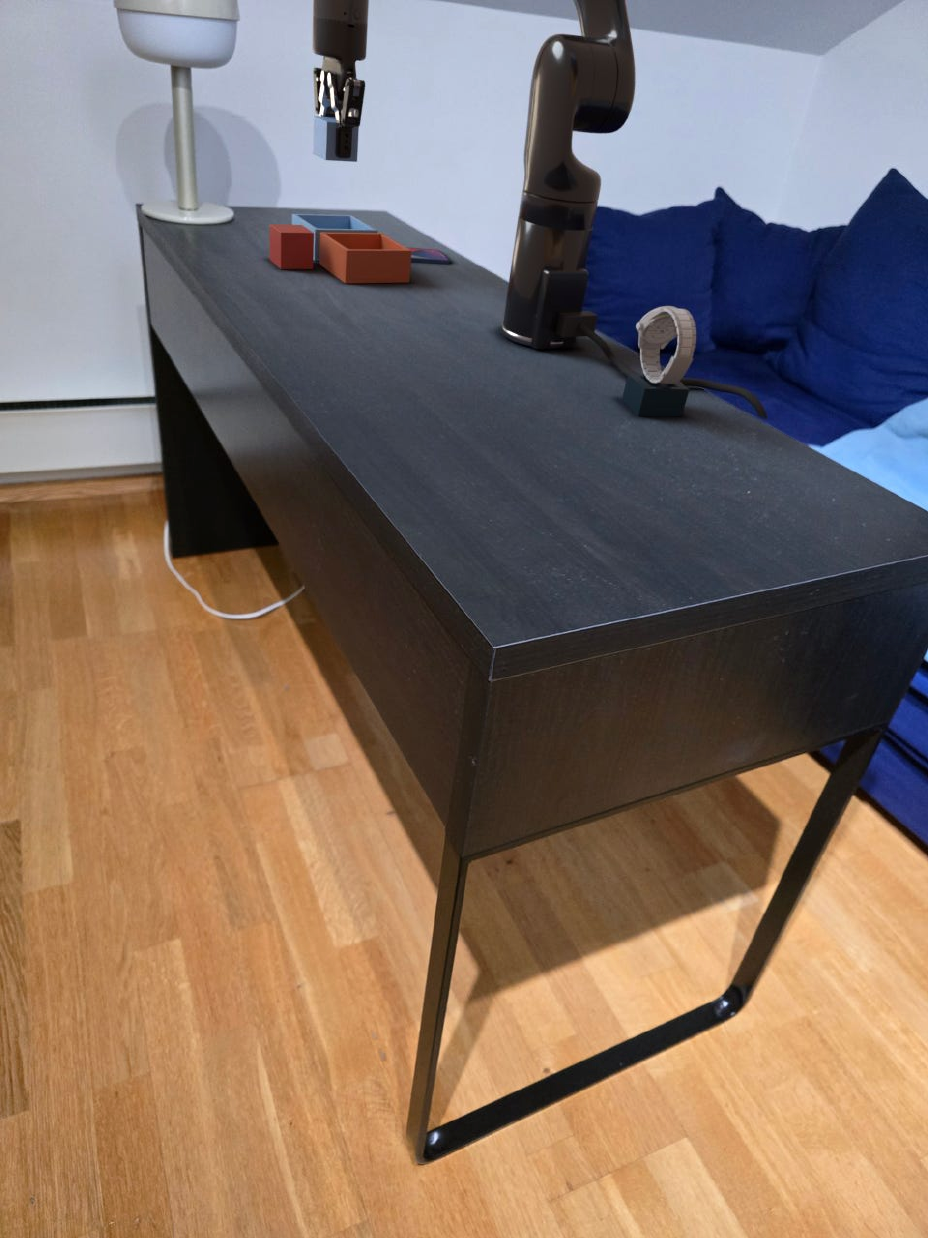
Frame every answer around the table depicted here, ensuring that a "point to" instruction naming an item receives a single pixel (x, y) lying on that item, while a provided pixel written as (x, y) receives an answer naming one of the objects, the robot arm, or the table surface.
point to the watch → (655, 387)
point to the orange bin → (364, 258)
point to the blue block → (331, 139)
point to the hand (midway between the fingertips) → (335, 153)
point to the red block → (291, 246)
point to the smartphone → (428, 256)
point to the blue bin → (330, 226)
